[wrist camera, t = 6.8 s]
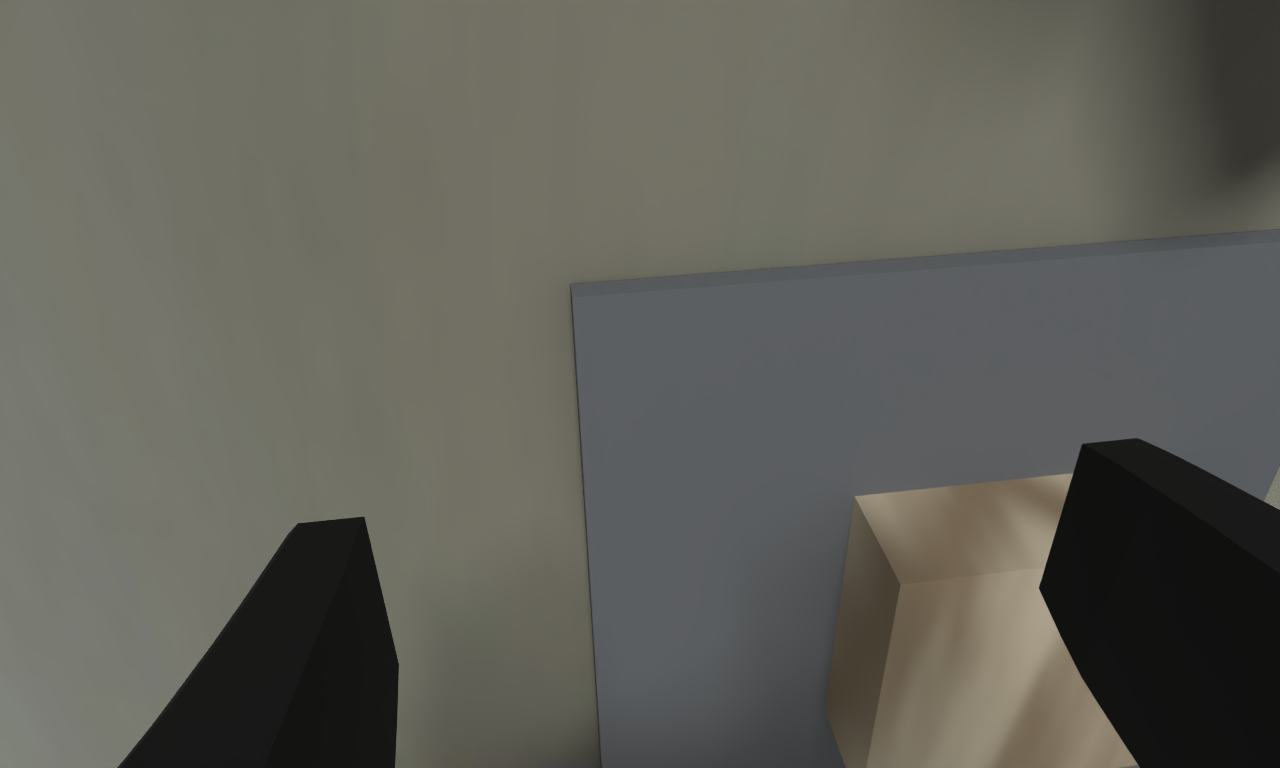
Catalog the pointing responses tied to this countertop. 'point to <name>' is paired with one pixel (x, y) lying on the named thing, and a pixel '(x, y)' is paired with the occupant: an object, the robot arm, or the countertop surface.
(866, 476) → the mat
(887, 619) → the tan flat block
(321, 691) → the robot arm
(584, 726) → the countertop surface
